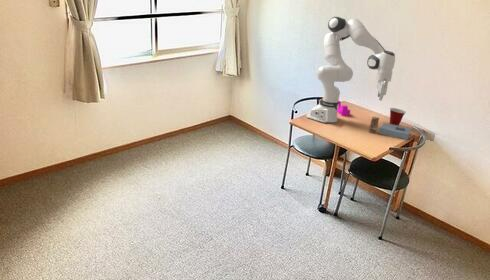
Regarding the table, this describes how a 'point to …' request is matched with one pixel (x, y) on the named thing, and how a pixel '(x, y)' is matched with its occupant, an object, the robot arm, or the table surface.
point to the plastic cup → (396, 116)
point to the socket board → (395, 131)
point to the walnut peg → (374, 125)
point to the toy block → (343, 110)
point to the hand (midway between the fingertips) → (379, 98)
